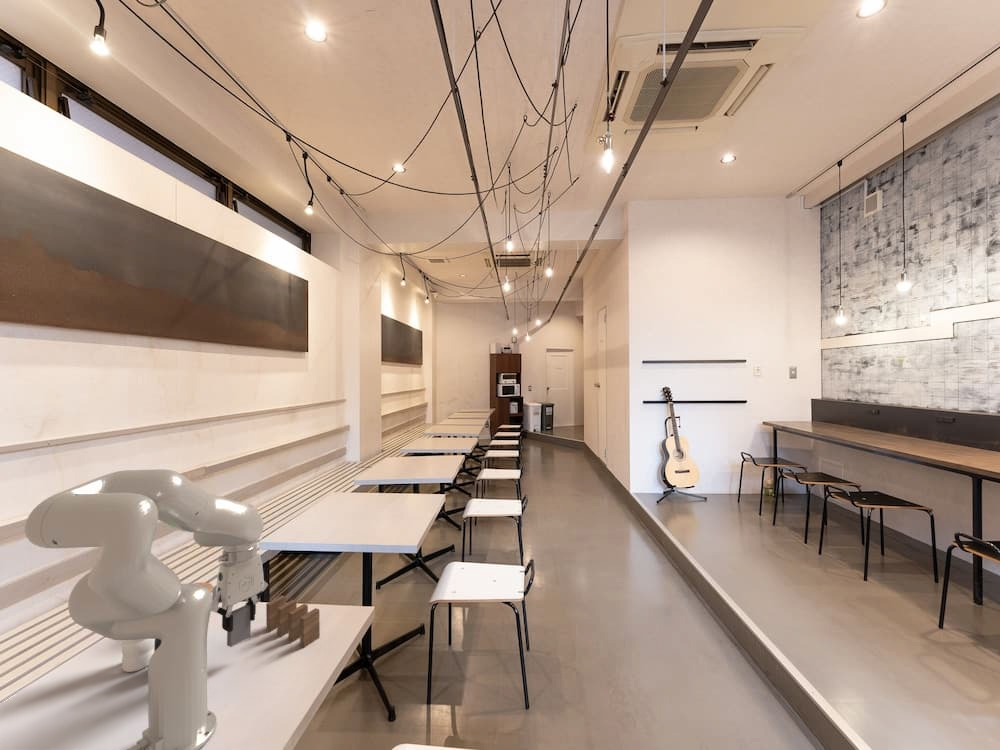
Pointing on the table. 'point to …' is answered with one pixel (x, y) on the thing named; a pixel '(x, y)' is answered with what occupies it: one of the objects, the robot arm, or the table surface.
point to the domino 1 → (239, 626)
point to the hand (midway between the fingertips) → (239, 623)
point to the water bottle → (136, 654)
